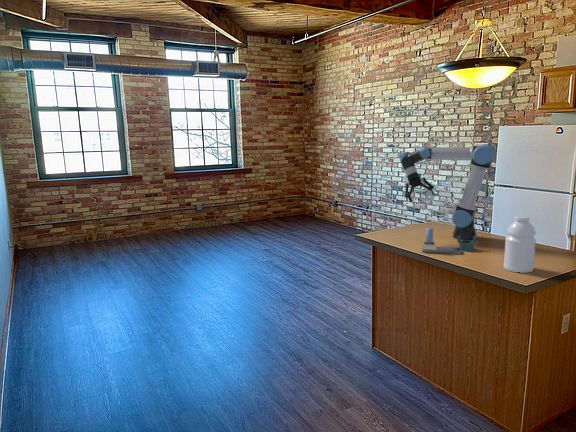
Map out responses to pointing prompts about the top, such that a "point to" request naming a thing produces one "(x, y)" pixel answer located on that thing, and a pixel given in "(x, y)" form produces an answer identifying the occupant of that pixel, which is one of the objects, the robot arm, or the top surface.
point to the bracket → (466, 244)
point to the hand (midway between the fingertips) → (423, 202)
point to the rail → (439, 249)
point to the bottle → (520, 246)
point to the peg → (429, 236)
